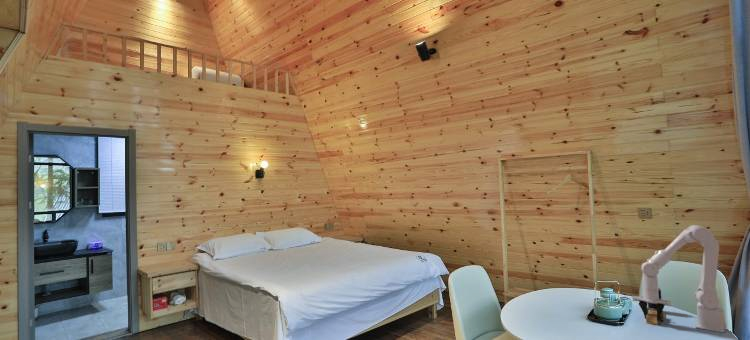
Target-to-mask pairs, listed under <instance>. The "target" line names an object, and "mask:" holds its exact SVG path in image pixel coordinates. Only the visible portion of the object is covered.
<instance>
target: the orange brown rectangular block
mask: <svg viewBox="0 0 750 340" xmlns="http://www.w3.org/2000/svg"><path fill="white" fill-rule="evenodd" d="M645 320H646V321H645V322H646V324H647V325H653V326H658V325H659V323H660V322H661V321H662V313H661V317H660V321H657V311H653V310H649V313H648V314H647V315H646V319H645Z"/></svg>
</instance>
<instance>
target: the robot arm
mask: <svg viewBox="0 0 750 340" xmlns="http://www.w3.org/2000/svg"><path fill="white" fill-rule="evenodd" d="M696 241H697V242H698V243H699V244H700V245H701V246H702V247H703V255H702V265H701V273H700V274H701V275H700V282H699V285H698V287H697V290H696V291H695V292H694V297H695V299H696V301H697V303H696V313H697V315H696V316H697V317H696V318H697V324H696V325H695V328H696V329H701V330H707V331H711V332H712V331H713V332H718V333H725V331H726V328H727V323H726V313H725V312H726V311H725V309H722V308H719V307H718V306H719V305H720V300H719V299H720V298H718V291H717V288H716V285H717V276H718V275H717V273H718V263H719V255H720V254H719V253H720V244H719V242H718V241H717V239H716V238H715V236H714V233H713V232H712V231H710V230H709V229H708V228H707V227H705V226H701V225H699V224H691V225H689V226H688V227H686V228H685V229H684V230H682V232H681V233H680V234H679V235H677V237H675V239H673V241H671V243H670V244H669V245H668V246H667V247H665V249H659V250H656V251H655V252H654V255H652V256H651V257H650V258H647V259H646V261H645V262H643V263H642V264H641V267H640V270H641V272H642V288H643V289H642V290H643V292H642V293H643V296H637V295H633V296H632V301H633V302H638V306H639V307H640V309H641V311H642V313H643V315H644V316H643V317H644V319H645V320H646V315H647V314H648V312H647V308H648V303H653V304H657V305H656V309H657V321H660V322H661V320H660V317H661V313H662V310H663V311H664V308H665V306H667V307H672V301H671V300H665V299H662V298H661V299H659V293H658V287H659V279H658V274H659V273H660V270H661V269H662V268H663V267H665V266H666V265H667V264H668V263H669V262H670V261H671V260H672V255H673V254H675V253H676V252H677V251H678V250H680V248H682V247H683V246H684V245H686V244H690V243H695V242H696Z"/></svg>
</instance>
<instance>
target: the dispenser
mask: <svg viewBox="0 0 750 340" xmlns="http://www.w3.org/2000/svg"><path fill="white" fill-rule="evenodd" d="M650 310H653V311H657V309H651V308H648V307H647V312H648V313H649V312H650ZM666 319H667V314H666V313H664V309H663V310H662V319H661V322H662V323H663V322H665V321H666Z"/></svg>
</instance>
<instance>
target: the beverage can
mask: <svg viewBox="0 0 750 340" xmlns="http://www.w3.org/2000/svg"><path fill="white" fill-rule="evenodd" d="M658 293H659V299H662V290H661V288H660V286H658ZM656 305H657V304H653V303H647V308H651V309H656Z"/></svg>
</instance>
